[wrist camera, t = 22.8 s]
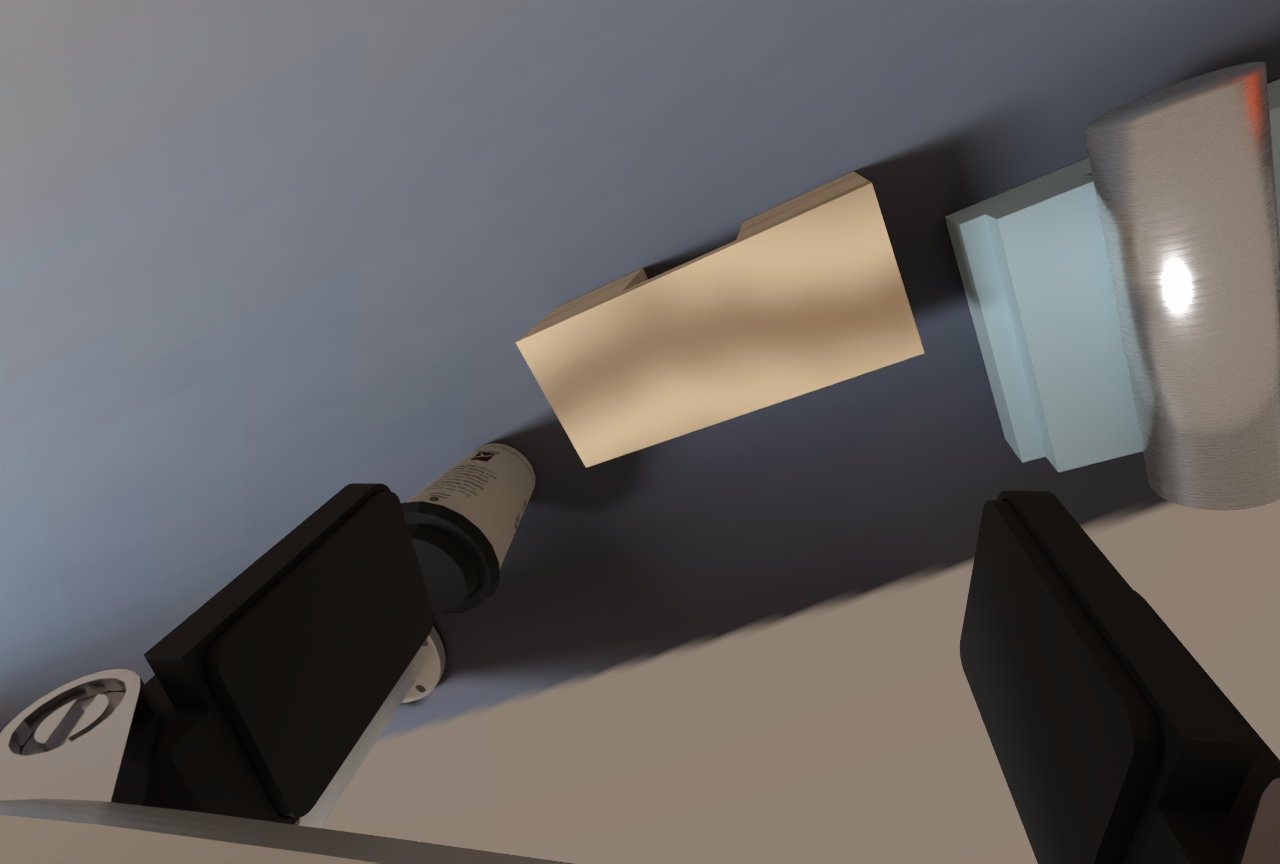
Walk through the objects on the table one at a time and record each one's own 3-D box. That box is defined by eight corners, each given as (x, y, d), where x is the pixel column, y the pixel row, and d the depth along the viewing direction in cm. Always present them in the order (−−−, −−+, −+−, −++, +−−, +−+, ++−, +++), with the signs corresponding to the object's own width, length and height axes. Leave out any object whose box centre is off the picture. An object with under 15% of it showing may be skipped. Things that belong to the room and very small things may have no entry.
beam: (897, 312, 29) (924, 353, 24) (614, 416, 35) (585, 467, 30) (853, 171, 27) (871, 182, 22) (557, 307, 33) (515, 342, 28)
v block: (1300, 356, 27) (1378, 391, 23) (1004, 438, 31) (1033, 478, 28) (1279, 78, 23) (1370, 70, 19) (944, 216, 27) (969, 230, 24)
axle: (1236, 434, 26) (1334, 484, 22) (1124, 470, 27) (1198, 523, 23) (1193, 73, 21) (1310, 51, 17) (1058, 134, 22) (1137, 127, 18)
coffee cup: (476, 405, 37) (383, 492, 28) (572, 467, 37) (510, 572, 29) (435, 481, 40) (340, 580, 31) (524, 537, 41) (455, 650, 32)
